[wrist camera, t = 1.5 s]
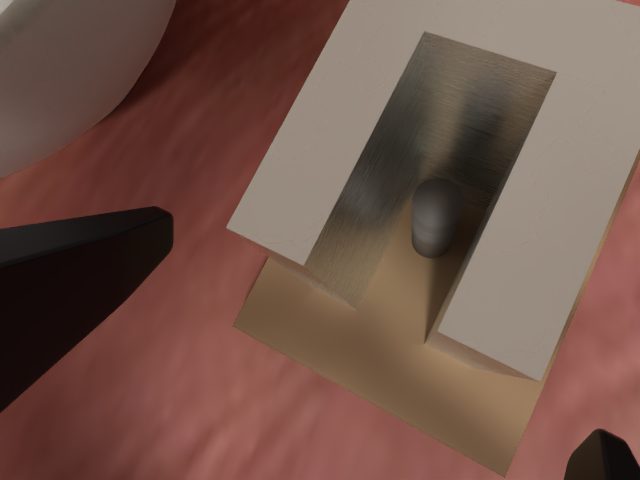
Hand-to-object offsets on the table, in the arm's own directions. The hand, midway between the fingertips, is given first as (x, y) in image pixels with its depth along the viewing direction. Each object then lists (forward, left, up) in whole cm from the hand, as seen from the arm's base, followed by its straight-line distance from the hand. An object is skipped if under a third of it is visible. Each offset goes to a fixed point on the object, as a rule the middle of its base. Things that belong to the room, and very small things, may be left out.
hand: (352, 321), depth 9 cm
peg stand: (+4, +3, -12) cm, 12 cm away
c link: (+4, +3, -10) cm, 11 cm away
